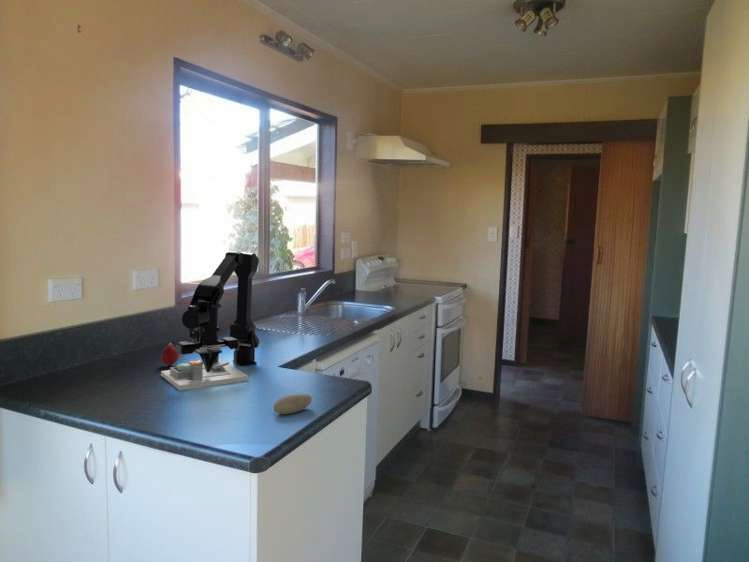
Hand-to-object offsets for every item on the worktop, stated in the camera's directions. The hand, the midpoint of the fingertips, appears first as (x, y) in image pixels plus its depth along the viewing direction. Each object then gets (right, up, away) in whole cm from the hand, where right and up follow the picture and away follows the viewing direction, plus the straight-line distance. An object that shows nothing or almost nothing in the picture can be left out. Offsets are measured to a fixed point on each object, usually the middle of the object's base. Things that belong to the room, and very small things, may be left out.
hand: (207, 371), depth 180 cm
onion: (-18, -1, +16) cm, 24 cm away
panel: (-2, -3, +4) cm, 5 cm away
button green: (-8, 0, +1) cm, 8 cm away
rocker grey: (+1, +1, +9) cm, 9 cm away
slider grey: (-2, 0, +11) cm, 12 cm away
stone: (+30, -8, -24) cm, 39 cm away
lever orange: (-3, -1, -2) cm, 4 cm away
